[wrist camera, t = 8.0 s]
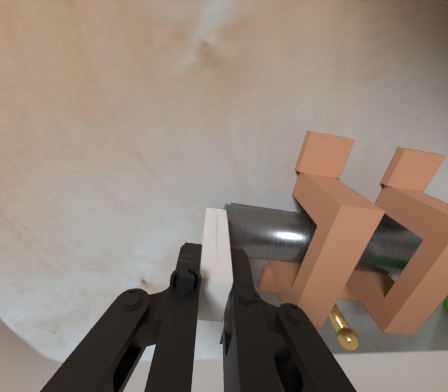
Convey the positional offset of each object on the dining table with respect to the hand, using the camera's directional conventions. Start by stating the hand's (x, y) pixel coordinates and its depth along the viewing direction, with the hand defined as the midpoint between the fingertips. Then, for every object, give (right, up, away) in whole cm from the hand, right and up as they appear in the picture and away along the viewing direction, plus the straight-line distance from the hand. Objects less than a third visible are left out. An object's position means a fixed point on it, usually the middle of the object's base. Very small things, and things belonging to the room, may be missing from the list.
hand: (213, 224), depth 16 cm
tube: (+8, -1, +3) cm, 9 cm away
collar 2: (+14, -1, +3) cm, 14 cm away
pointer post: (+9, -6, +5) cm, 12 cm away
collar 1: (+7, 0, +2) cm, 7 cm away
